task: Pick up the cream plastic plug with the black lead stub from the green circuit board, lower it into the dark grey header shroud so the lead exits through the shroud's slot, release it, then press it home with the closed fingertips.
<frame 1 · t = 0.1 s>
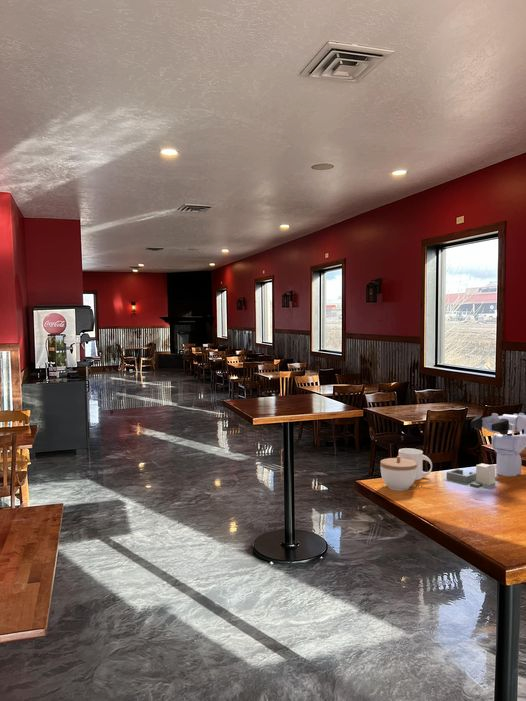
hand: (482, 425, 196), 22 cm above the table, tool horizontal, fingers open, 7 cm apart
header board: (470, 483, 201), on the table
plug: (485, 482, 198), point 1 cm above the table, touching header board
lidded bowl: (398, 488, 196), on the table
mug: (415, 480, 206), on the table
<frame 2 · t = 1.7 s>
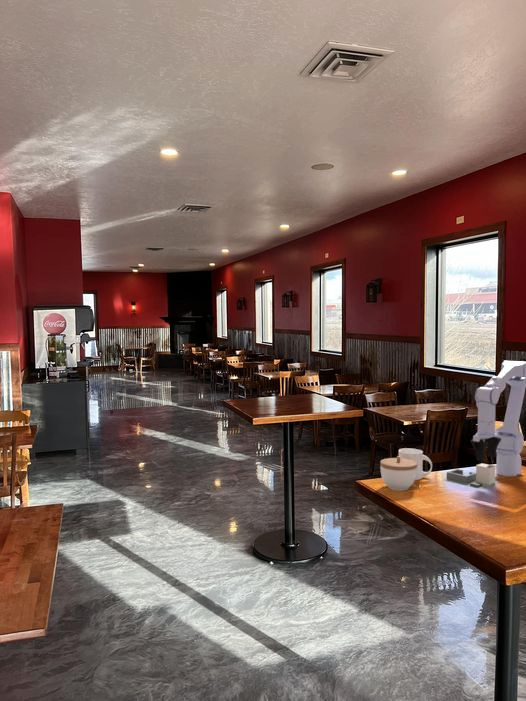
hand: (485, 458, 198), 9 cm above the table, tool pointing down, fingers open, 7 cm apart
nothing on the table moved.
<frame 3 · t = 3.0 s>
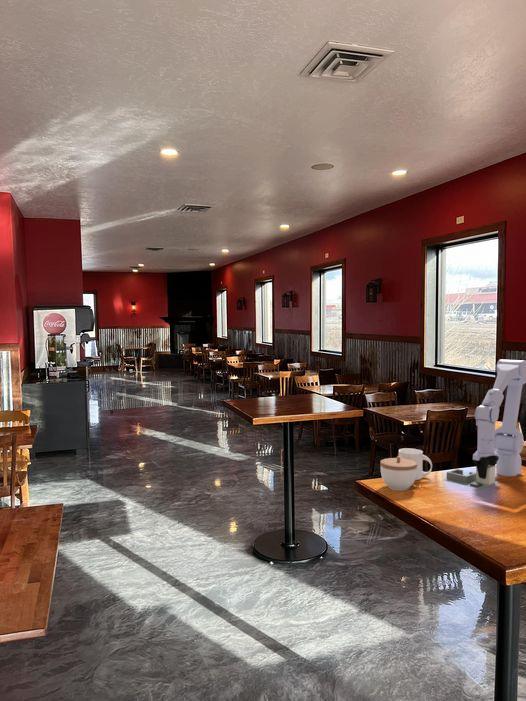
hand: (485, 477, 198), 3 cm above the table, tool pointing down, fingers closed on plug, 4 cm apart
plug: (485, 482, 198), point 1 cm above the table, touching gripper, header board
everything else where it was.
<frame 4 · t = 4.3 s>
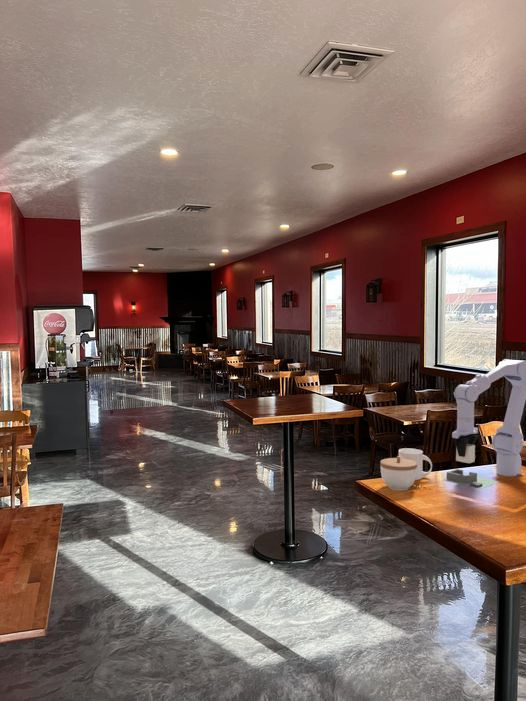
hand: (464, 455, 201), 10 cm above the table, tool pointing down, fingers closed on plug, 4 cm apart
plug: (465, 461, 201), point 8 cm above the table, touching gripper
everything else where it was.
when the fingers open (4 cm above the table, at t = 5.8 s): plug drops 1 cm, resting on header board.
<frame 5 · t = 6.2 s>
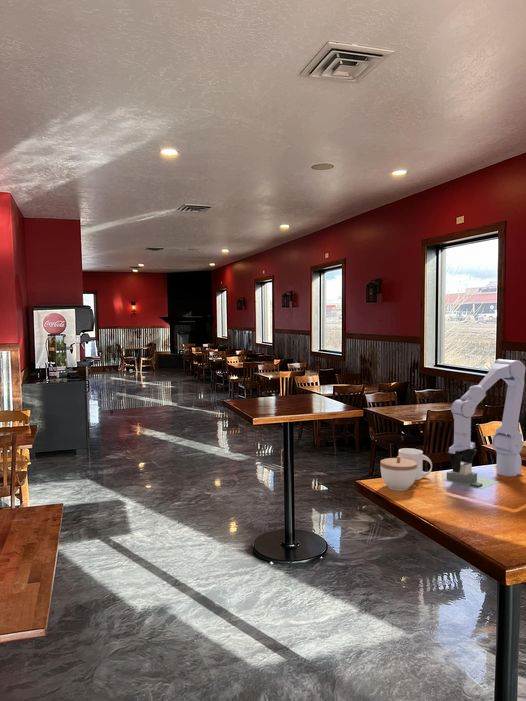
hand: (461, 470, 202), 4 cm above the table, tool pointing down, fingers open, 7 cm apart
plug: (462, 479, 202), point 1 cm above the table, touching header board
everything else where it was.
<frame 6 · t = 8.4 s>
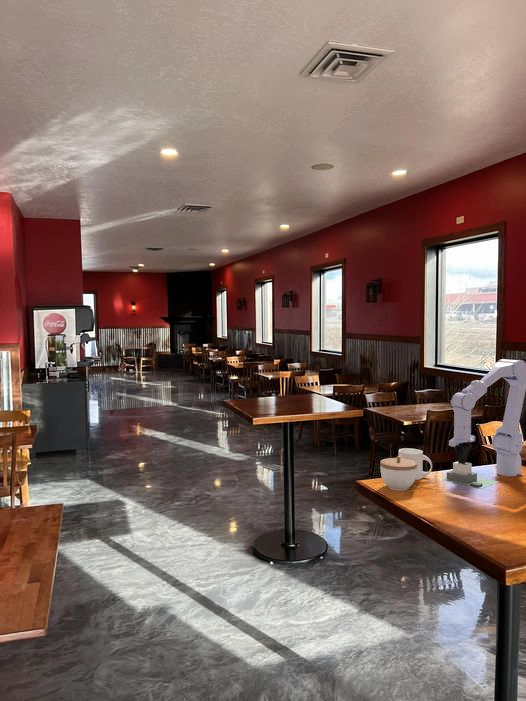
hand: (461, 463, 202), 7 cm above the table, tool pointing down, fingers closed, pressing on plug
plug: (462, 479, 202), point 1 cm above the table, touching gripper, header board
everything else where it was.
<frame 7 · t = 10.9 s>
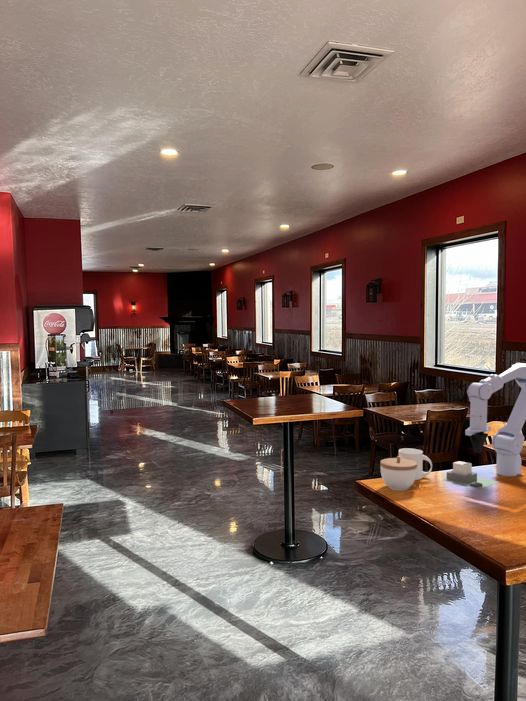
hand: (477, 452, 203), 10 cm above the table, tool pointing down, fingers closed
plug: (462, 479, 202), point 1 cm above the table, touching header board
everything else where it was.
at the end: plug 0.2 cm from the target spot on the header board, point 1.0 cm above the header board's base; plug tilted 0°; the gripper is holding nothing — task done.
